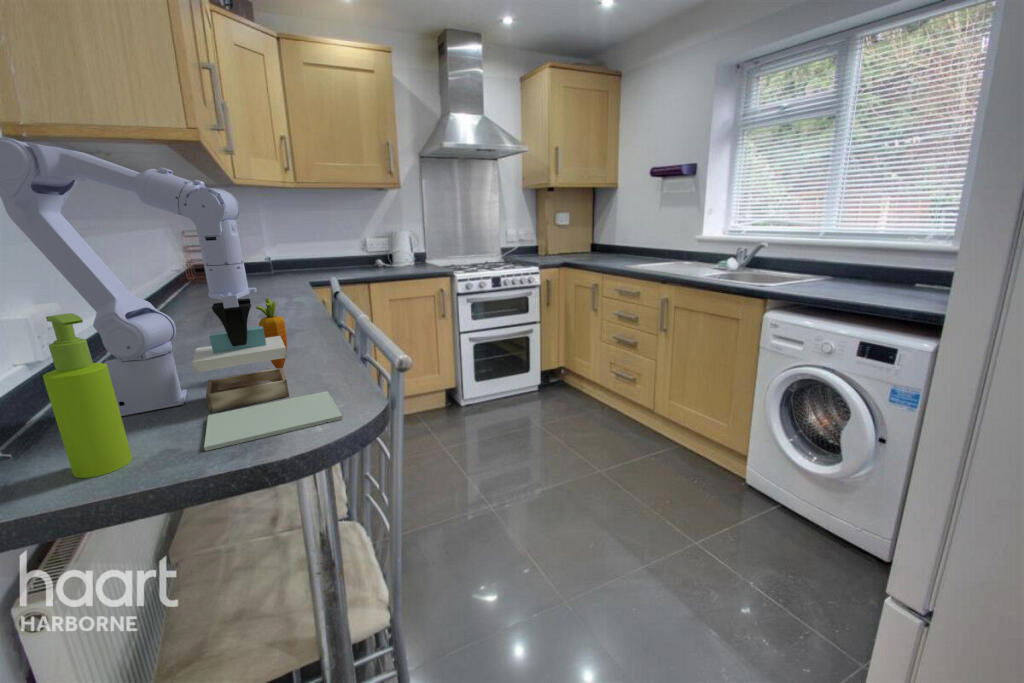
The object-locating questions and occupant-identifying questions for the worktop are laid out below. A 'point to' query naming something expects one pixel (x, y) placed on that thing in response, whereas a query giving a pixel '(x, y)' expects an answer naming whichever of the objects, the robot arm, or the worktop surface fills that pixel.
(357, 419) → the worktop surface
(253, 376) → the storage box
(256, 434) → the mat
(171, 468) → the worktop surface
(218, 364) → the lid
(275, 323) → the carrot
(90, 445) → the soap dispenser
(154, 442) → the worktop surface
